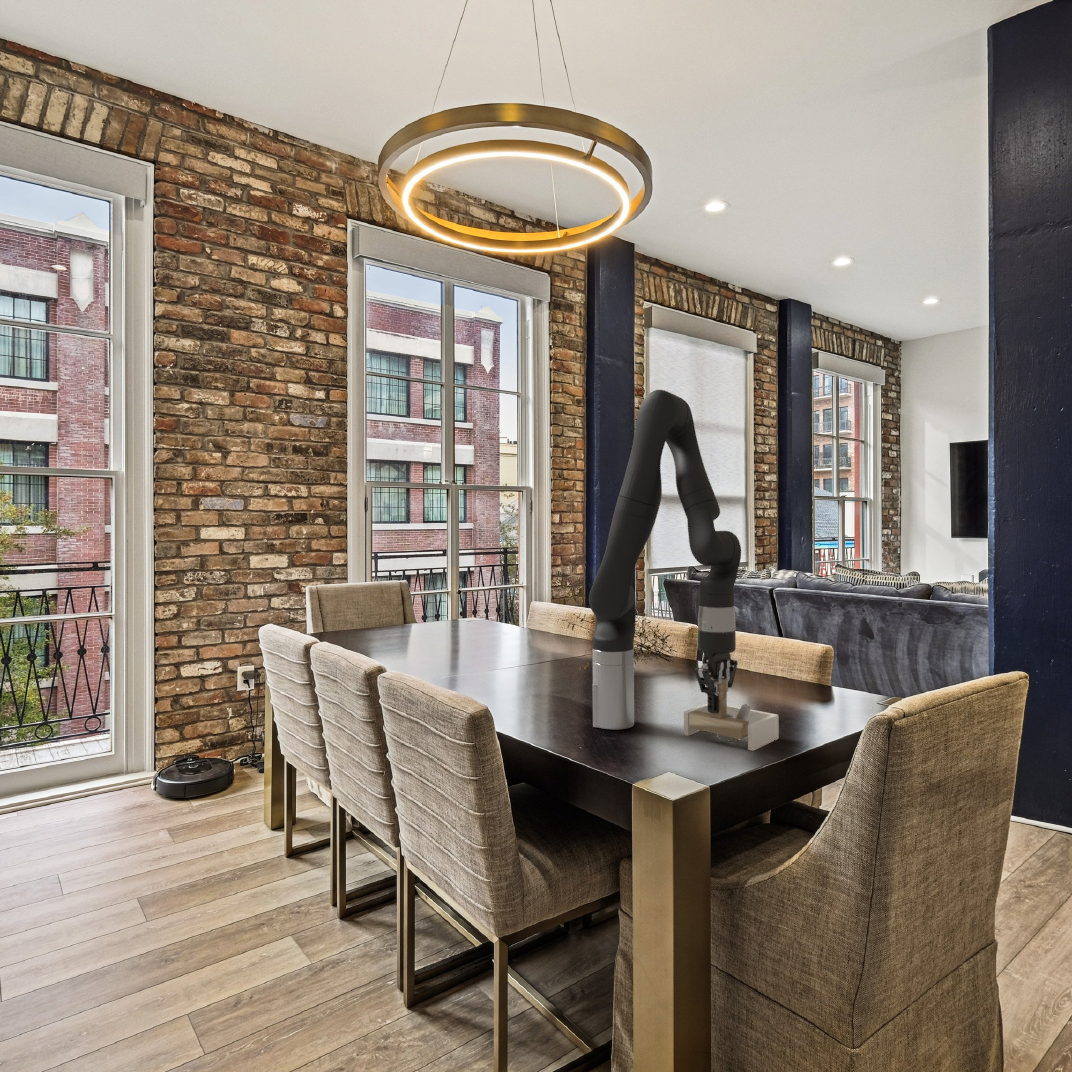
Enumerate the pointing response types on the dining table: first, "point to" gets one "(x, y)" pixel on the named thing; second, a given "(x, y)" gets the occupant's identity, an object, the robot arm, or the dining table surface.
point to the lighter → (741, 715)
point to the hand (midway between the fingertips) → (716, 710)
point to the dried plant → (634, 640)
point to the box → (759, 728)
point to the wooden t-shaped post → (719, 718)
